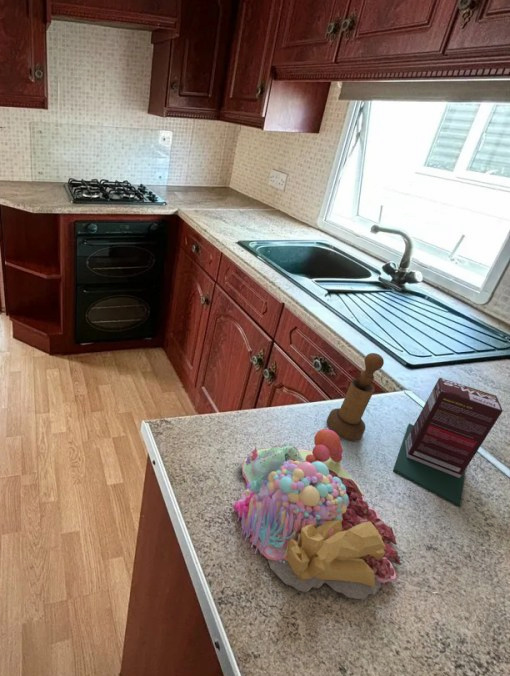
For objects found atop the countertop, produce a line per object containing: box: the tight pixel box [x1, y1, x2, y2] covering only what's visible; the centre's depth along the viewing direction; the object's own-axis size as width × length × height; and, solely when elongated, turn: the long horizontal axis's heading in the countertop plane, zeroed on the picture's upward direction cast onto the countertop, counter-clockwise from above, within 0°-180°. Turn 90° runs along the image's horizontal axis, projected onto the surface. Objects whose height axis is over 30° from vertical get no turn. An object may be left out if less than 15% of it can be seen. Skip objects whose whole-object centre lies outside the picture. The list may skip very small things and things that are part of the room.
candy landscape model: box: [233, 428, 401, 601], centre depth 61 cm, size 25×24×9 cm
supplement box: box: [405, 377, 504, 478], centre depth 72 cm, size 9×5×16 cm, turn 61°
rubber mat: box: [392, 423, 466, 508], centre depth 75 cm, size 16×10×1 cm, turn 139°
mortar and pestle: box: [326, 352, 385, 442], centre depth 77 cm, size 7×6×18 cm
